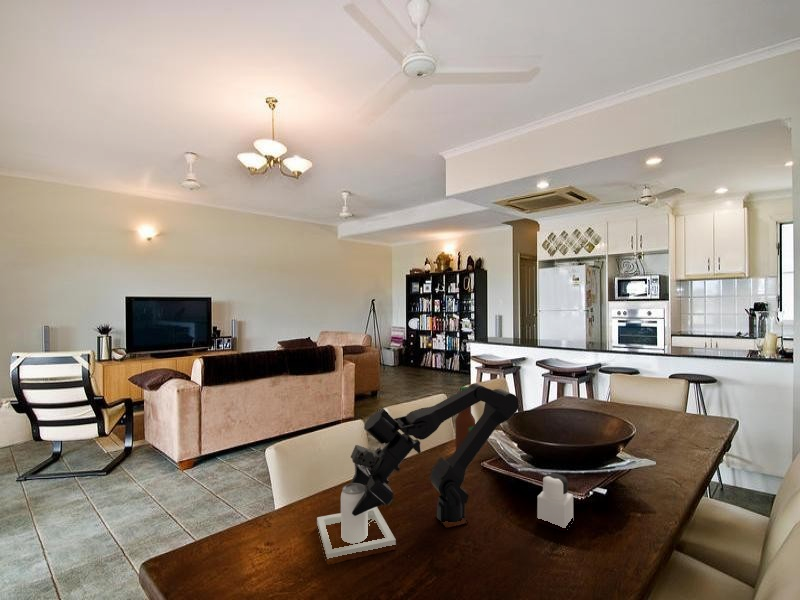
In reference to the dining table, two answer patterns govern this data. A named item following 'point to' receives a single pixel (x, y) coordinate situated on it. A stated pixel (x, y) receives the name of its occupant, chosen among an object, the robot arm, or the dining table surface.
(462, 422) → the bottle
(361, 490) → the can
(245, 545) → the dining table surface
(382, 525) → the tray
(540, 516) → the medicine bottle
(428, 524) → the dining table surface
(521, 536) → the dining table surface
